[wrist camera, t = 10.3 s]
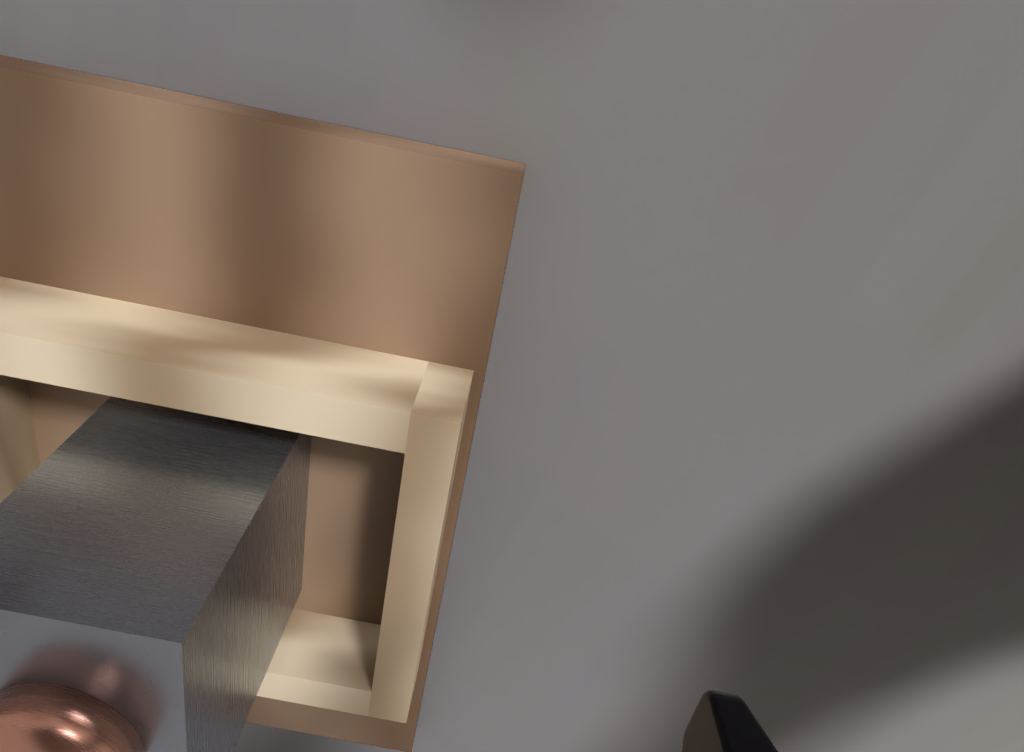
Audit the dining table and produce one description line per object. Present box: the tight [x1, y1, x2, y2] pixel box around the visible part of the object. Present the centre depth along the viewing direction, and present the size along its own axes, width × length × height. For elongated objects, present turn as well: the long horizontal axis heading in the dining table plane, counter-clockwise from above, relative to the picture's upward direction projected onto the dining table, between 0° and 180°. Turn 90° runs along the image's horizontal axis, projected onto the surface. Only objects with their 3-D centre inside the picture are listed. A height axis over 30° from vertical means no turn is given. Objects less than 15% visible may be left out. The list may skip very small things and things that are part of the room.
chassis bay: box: [0, 55, 526, 752], centre depth 22 cm, size 14×22×4 cm, turn 169°
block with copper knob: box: [0, 396, 312, 752], centre depth 18 cm, size 5×7×9 cm
